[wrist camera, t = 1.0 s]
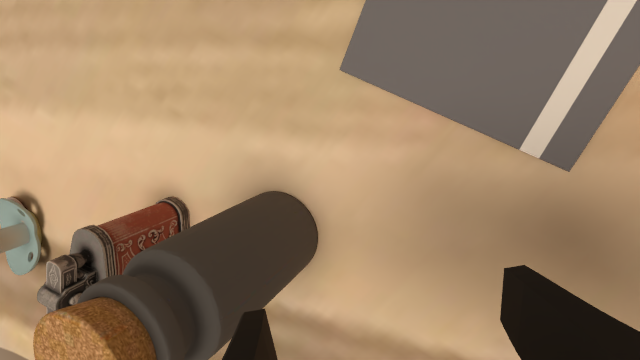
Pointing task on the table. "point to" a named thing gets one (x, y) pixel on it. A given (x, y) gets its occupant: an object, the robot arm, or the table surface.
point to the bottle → (186, 287)
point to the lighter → (108, 250)
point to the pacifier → (19, 236)
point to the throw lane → (504, 64)
